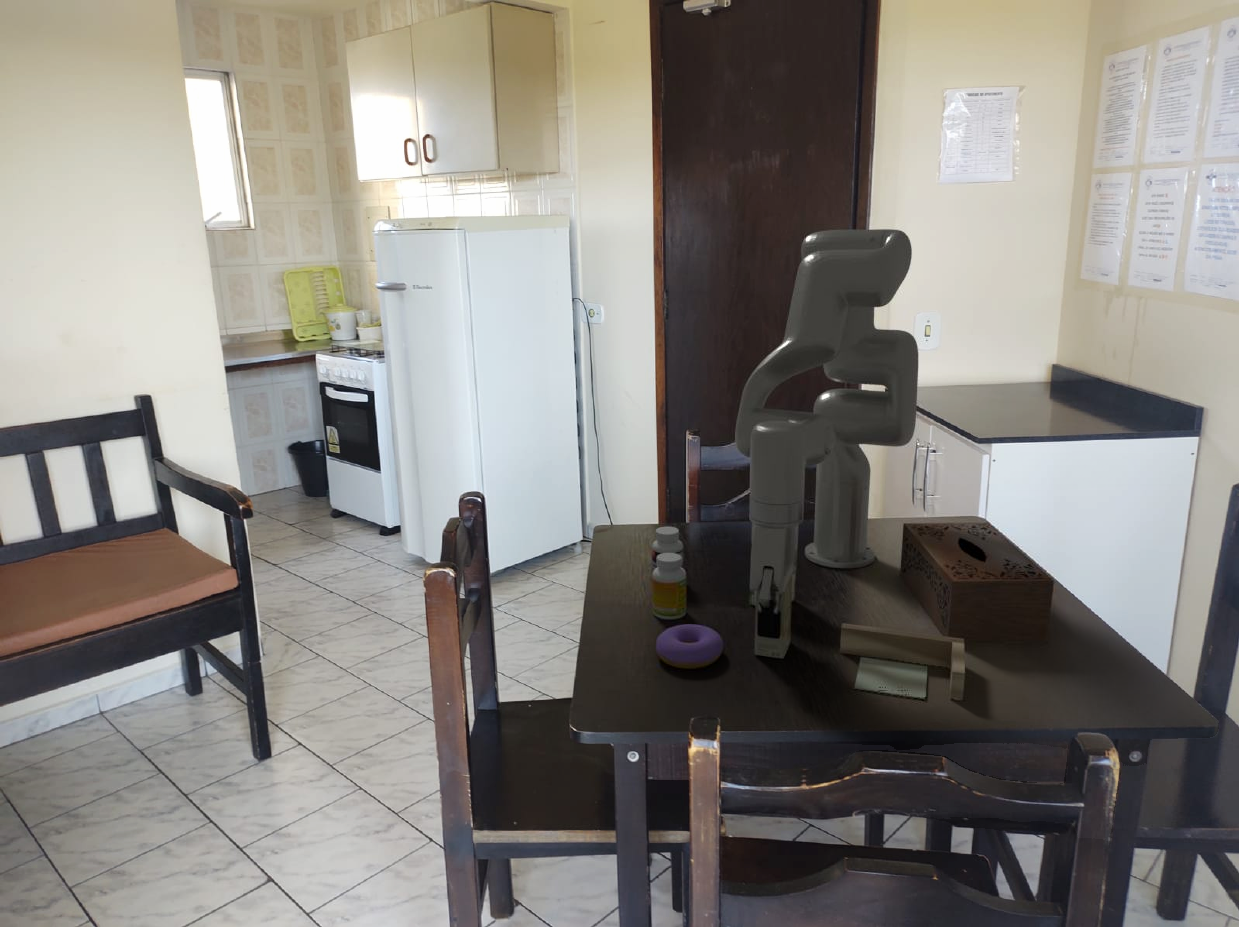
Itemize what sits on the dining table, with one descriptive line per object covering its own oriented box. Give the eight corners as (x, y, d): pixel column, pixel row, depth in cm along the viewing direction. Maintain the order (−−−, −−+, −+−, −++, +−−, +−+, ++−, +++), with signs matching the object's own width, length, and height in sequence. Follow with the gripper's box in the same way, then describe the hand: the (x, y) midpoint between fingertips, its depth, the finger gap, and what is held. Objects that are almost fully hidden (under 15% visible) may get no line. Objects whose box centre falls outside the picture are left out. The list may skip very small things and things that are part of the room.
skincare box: (783, 660, 125) (786, 580, 122) (753, 655, 127) (755, 577, 123) (791, 640, 131) (793, 564, 128) (762, 636, 132) (764, 561, 129)
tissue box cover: (1046, 644, 129) (1054, 580, 126) (947, 644, 129) (952, 581, 127) (983, 576, 154) (988, 522, 151) (899, 577, 154) (903, 523, 152)
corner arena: (841, 648, 128) (842, 623, 127) (961, 664, 123) (963, 638, 122) (831, 686, 118) (832, 659, 117) (962, 706, 112) (965, 678, 111)
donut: (685, 678, 120) (680, 644, 120) (645, 666, 128) (640, 634, 127) (739, 657, 126) (734, 624, 125) (697, 646, 133) (693, 616, 133)
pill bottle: (646, 581, 154) (645, 529, 151) (669, 574, 157) (668, 522, 155) (665, 591, 150) (665, 537, 147) (689, 583, 153) (689, 530, 150)
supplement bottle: (683, 621, 138) (683, 564, 136) (650, 619, 139) (649, 562, 137) (688, 607, 143) (688, 551, 141) (655, 605, 144) (655, 550, 142)
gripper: (761, 490, 132) (759, 600, 137) (736, 526, 117) (734, 649, 121) (812, 494, 130) (808, 606, 134) (793, 531, 114) (789, 656, 119)
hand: (773, 625), depth 128 cm, fingers closed on skincare box, 6 cm apart
